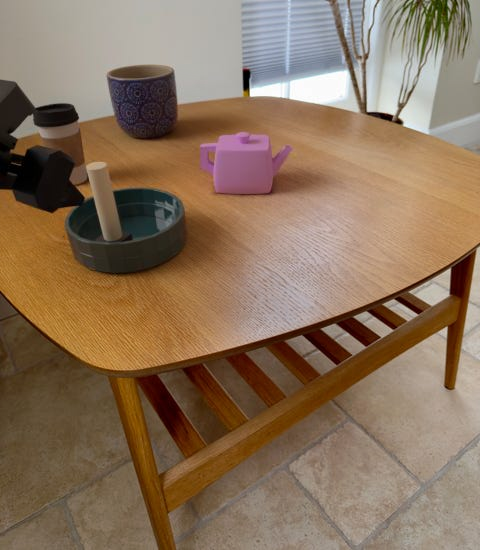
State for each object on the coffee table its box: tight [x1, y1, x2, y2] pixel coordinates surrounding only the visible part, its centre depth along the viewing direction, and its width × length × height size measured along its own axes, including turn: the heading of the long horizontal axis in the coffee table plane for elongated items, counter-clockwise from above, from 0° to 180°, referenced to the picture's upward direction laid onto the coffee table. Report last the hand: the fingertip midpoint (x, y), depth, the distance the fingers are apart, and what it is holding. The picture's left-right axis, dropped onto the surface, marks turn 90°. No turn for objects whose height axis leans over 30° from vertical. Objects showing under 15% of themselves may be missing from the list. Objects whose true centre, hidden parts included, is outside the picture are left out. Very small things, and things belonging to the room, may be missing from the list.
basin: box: [64, 186, 188, 274], centre depth 69 cm, size 18×18×6 cm
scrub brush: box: [85, 161, 133, 243], centre depth 64 cm, size 4×4×14 cm
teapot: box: [199, 131, 294, 195], centre depth 85 cm, size 18×10×10 cm, turn 86°
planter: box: [106, 64, 179, 139], centre depth 110 cm, size 16×16×15 cm
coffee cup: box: [32, 102, 88, 186], centre depth 87 cm, size 8×8×15 cm
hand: (56, 193), depth 55 cm, fingers open, 9 cm apart
